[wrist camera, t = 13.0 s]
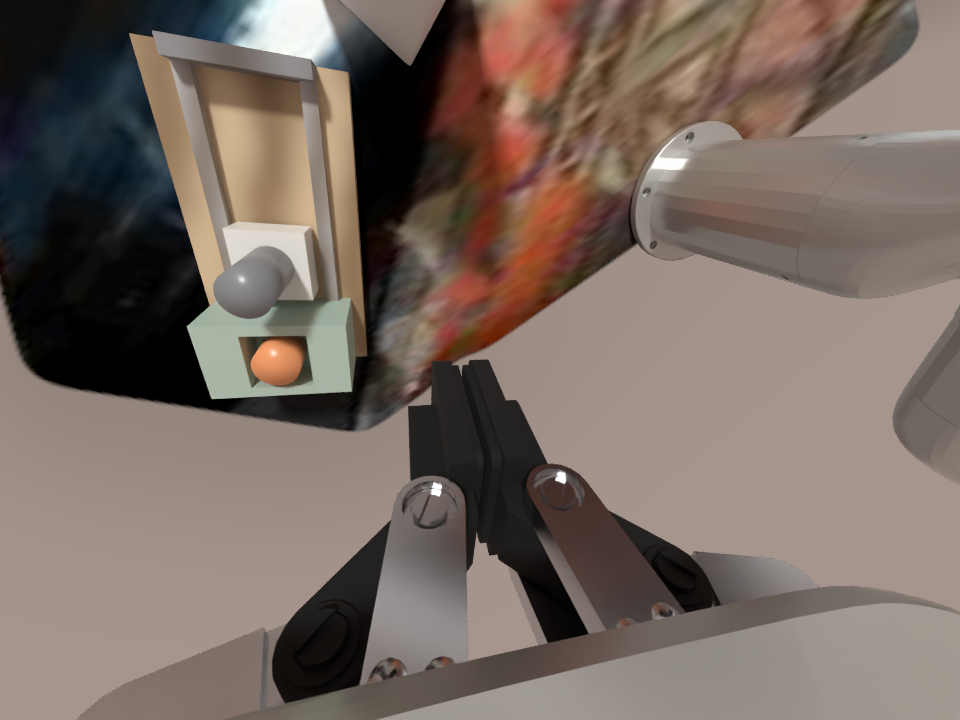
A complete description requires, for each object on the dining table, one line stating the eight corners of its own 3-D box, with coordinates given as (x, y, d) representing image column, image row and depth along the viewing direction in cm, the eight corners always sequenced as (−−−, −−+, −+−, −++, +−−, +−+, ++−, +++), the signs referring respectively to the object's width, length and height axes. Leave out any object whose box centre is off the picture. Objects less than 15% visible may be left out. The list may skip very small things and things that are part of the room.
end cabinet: (352, 292, 32) (345, 325, 26) (356, 349, 35) (351, 391, 29) (222, 290, 29) (179, 326, 23) (239, 352, 32) (205, 399, 26)
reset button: (304, 330, 27) (296, 347, 25) (309, 364, 29) (303, 384, 26) (258, 330, 26) (246, 348, 24) (266, 365, 28) (256, 386, 26)
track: (349, 76, 24) (345, 65, 21) (367, 349, 35) (365, 366, 32) (143, 40, 21) (106, 22, 18) (231, 352, 32) (217, 371, 29)
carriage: (311, 226, 27) (284, 253, 19) (318, 288, 29) (298, 333, 22) (237, 221, 26) (178, 248, 18) (252, 286, 28) (205, 334, 20)
